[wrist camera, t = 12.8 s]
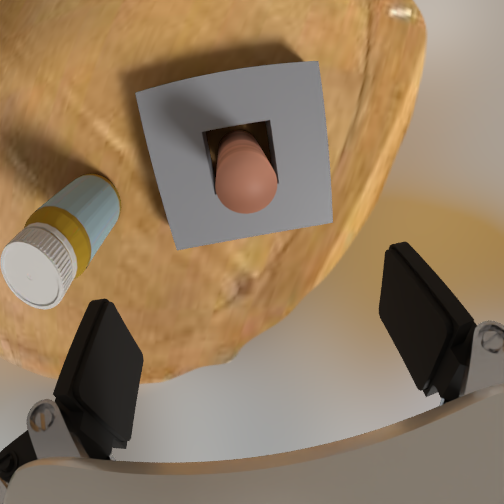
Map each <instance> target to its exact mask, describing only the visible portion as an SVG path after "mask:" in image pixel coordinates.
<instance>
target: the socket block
mask: <svg viewBox="0 0 504 504" xmlns="http://www.w3.org/2000/svg"><path fill="white" fill-rule="evenodd" d="M135 94H136V99H137V103H138V108H139V112H140V117H141V121H142V125H143V130H144V134H145V138H146V142H147V146H148V150H149V154H150V158H151V162H152V166H153V169H154V173H155V177H156V181H157V184H158V188H159V191H160V195H161V198H162V202H163V205H164V209H165V212H166V216H167V219H168V222H169V226H170V229H171V232H172V236H173V239H174V242H175V245H176V248H177V250H181V249H187V248H192V247H197V246H203V245H208V244H214V243H219V242H225V241H230V240H236V239H241V238H247V237H252V236H258V235H264V234H269V233H275V232H281V231H286V230H292V229H298V228H304V227H310V226H316V225H321V224H327V223H333V216H332V194H331V177H330V163H329V150H328V139H327V128H326V118H325V109H324V100H323V92H322V84H321V77H320V70H319V63H318V61H308V62H293V63H282V64H272V65H263V66H255V67H248V68H241V69H235V70H229V71H223V72H217V73H212V74H207V75H202V76H197V77H193V78H188V79H184V80H180V81H176V82H172V83H168V84H164V85H160V86H157V87H153V88H150V89H146V90H143V91H139V92H136V93H135ZM260 121H265V123H266V129H267V136H268V143H269V150H270V156H271V163H272V168H273V170H274V172H275V174H276V177H277V191H276V194H275V196H274V198H273V200H272V201H271V202H270V203H269V205H267V206H266V207H265V208H263V209H262V210H260V211H258V212H255V213H249V214H242V213H237V212H234V211H232V210H230V209H228V208H227V207H225V206H224V205H223V204H222V203H221V201H220V200H219V198H218V196H217V193H216V188H215V182H216V180H215V175H214V170H213V165H212V161H211V156H210V151H209V146H208V141H207V136H206V131H209V130H214V129H219V128H224V127H230V126H235V125H241V124H247V123H253V122H260Z"/></svg>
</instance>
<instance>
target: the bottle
mask: <svg viewBox="0 0 504 504" xmlns="http://www.w3.org/2000/svg"><path fill="white" fill-rule="evenodd" d="M120 211H121V200H120V196H119V194H118V191H117V189H116V188H115V187H114V185H113V184H112V183H111V182H110V181H109V180H107V179H106V178H105V177H103V176H100V175H97V174H85V175H82V176H80V177H78V178H77V179H75V180H74V181H72V182H71V183H70V184H68V185H67V186H66V187H65V188H63V189H62V190H61V191H59V192H58V193H57V194H56V195H54V196H53V197H52V198H51V199H49V200H48V201H47V202H46V203H45V204H43V205H42V206H41V207H40V208H39V209H37V210H36V211H35V212H34V213H33V214H32V215H31V216H30V218H29V219H28V220H27V222H26V224H25V227H24V229H23V230H22V231H21V232H19V233H18V234H17V235H16V236H15V237H14V238H13V239H12V240H11V241H10V242H9V243H8V244H7V245H6V247H5V248H4V250H3V252H2V255H1V270H2V274H3V276H4V279H5V281H6V283H7V285H8V286H9V288H10V289H11V290H12V292H13V293H14V294H15V295H16V296H17V297H18V298H19V299H21V300H22V301H23V302H25V303H26V304H28V305H30V306H32V307H35V308H38V309H50V308H53V307H55V306H56V305H57V304H58V303H60V301H61V300H62V298H63V296H64V295H65V293H66V291H67V290H68V288H69V286H70V285H71V282H72V281H73V280H74V279H75V278H77V277H78V276H80V275H81V274H82V273H83V272H84V270H85V269H86V268H87V266H88V265H89V263H90V261H91V260H92V258H93V257H94V255H95V253H96V252H97V250H98V249H99V247H100V246H101V244H102V243H103V241H104V240H105V238H106V237H107V235H108V234H109V232H110V231H111V229H112V228H113V226H114V225H115V223H116V221H117V220H118V218H119V216H120Z"/></svg>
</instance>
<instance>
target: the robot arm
mask: <svg viewBox="0 0 504 504" xmlns="http://www.w3.org/2000/svg"><path fill="white" fill-rule="evenodd" d="M379 315H380V318H381V320H382V322H383V323H384V325H385V327H386V329H387V331H388V333H389V335H390V336H391V338H392V340H393V342H394V344H395V346H396V347H397V349H398V351H399V353H400V355H401V357H402V359H403V361H404V363H405V365H406V367H407V368H408V370H409V372H410V374H411V376H412V378H413V380H414V382H415V384H416V386H417V388H418V389H419V390H423V392H424V394H425V396H426V397H427V396H430V395H432V394H434V393H436V392H439V395H440V397H441V402H440V405H439V406H438V407H436V408H434V409H431V410H429V411H426V412H424V413H422V414H419V415H416V416H414V417H411V418H408V419H406V420H403V421H400V422H397V423H395V424H392V425H389V426H386V427H383V428H380V429H378V430H374V431H371V432H368V433H364V434H361V435H358V436H355V437H351V438H347V439H343V440H340V441H336V442H332V443H328V444H324V445H319V446H315V447H310V448H305V449H301V450H296V451H291V452H285V453H279V454H273V455H266V456H259V457H252V458H243V459H234V460H223V461H210V462H186V463H149V462H128V461H127V462H126V461H116V459H115V458H114V456H113V455H112V453H111V451H112V447H113V448H123V449H126V446H127V441H129V440H130V439H131V434H132V427H133V420H134V413H135V406H136V400H137V394H138V388H139V383H140V377H141V372H142V366H143V354H142V352H141V350H140V349H139V347H138V345H137V344H136V342H135V340H134V339H133V337H132V335H131V334H130V332H129V330H128V329H127V327H126V325H125V323H124V322H123V320H122V318H121V316H120V314H119V313H118V311H117V309H116V307H115V305H114V304H113V303H112V302H109V301H108V300H107V299H99V300H93V301H91V302H90V303H89V305H88V307H87V310H86V312H85V314H84V316H83V319H82V321H81V323H80V325H79V328H78V330H77V332H76V335H75V337H74V340H73V342H72V344H71V347H70V349H69V352H68V354H67V357H66V360H65V362H64V365H63V367H62V370H61V373H60V375H59V378H58V381H57V384H56V387H55V390H54V393H53V395H54V396H55V397H56V399H55V402H54V401H52V400H49V399H44V400H41V401H39V402H37V403H36V404H35V405H34V406H33V407H32V408H31V409H30V411H29V413H28V416H27V428H28V430H27V431H26V432H25V433H23V434H22V435H21V436H19V437H18V438H17V439H15V440H14V441H13V442H12V443H10V444H9V445H8V446H7V447H5V448H4V449H3V450H2V451H1V452H0V504H504V326H503V325H502V324H500V323H498V322H495V321H485V322H482V323H480V324H479V325H478V326H477V325H476V324H475V323H474V319H473V318H472V317H471V315H470V314H469V313H468V312H467V310H466V309H465V308H464V306H463V305H462V304H461V303H460V302H459V300H458V299H457V298H456V296H455V295H454V294H453V293H452V292H451V290H450V289H449V288H448V287H447V286H446V285H445V283H444V282H443V281H442V280H441V279H440V278H439V276H438V275H437V274H436V273H435V272H434V271H433V270H432V269H431V267H430V266H429V265H428V264H427V263H426V262H425V261H424V260H423V259H422V257H421V256H420V255H419V254H418V253H417V252H416V251H415V250H414V249H413V248H412V247H411V246H410V245H409V244H408V243H407V242H401V243H396V244H392V245H390V247H389V250H386V252H385V260H384V270H383V279H382V287H381V296H380V303H379Z"/></svg>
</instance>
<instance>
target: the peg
mask: <svg viewBox="0 0 504 504" xmlns="http://www.w3.org/2000/svg"><path fill="white" fill-rule="evenodd" d="M215 188H216V193H217V196H218V198H219V200H220V201H221V203H222V204H223V205H224V206H225V207H227V208H228V209H230V210H232V211H234V212H237V213H242V214H249V213H255V212H258V211H260V210H262V209H263V208H265V207H266V206H267V205H269V203H270V202H271V201H272V200H273V198H274V196H275V194H276V191H277V177H276V174H275V172H274V170H273V168H272V166H271V164H270V163H269V161H268V159H267V158H266V156H265V154H264V153H263V151H262V149H261V148H260V146H259V144H258V142H257V141H256V139H255V138H254V137H253V136H252V135H251V134H250V133H248V132H246V131H242V130H236V131H232V132H229V133H228V134H226V135H225V136H224V137H223V138H222V140H221V142H220V144H219V151H218V161H217V171H216V182H215Z"/></svg>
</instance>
